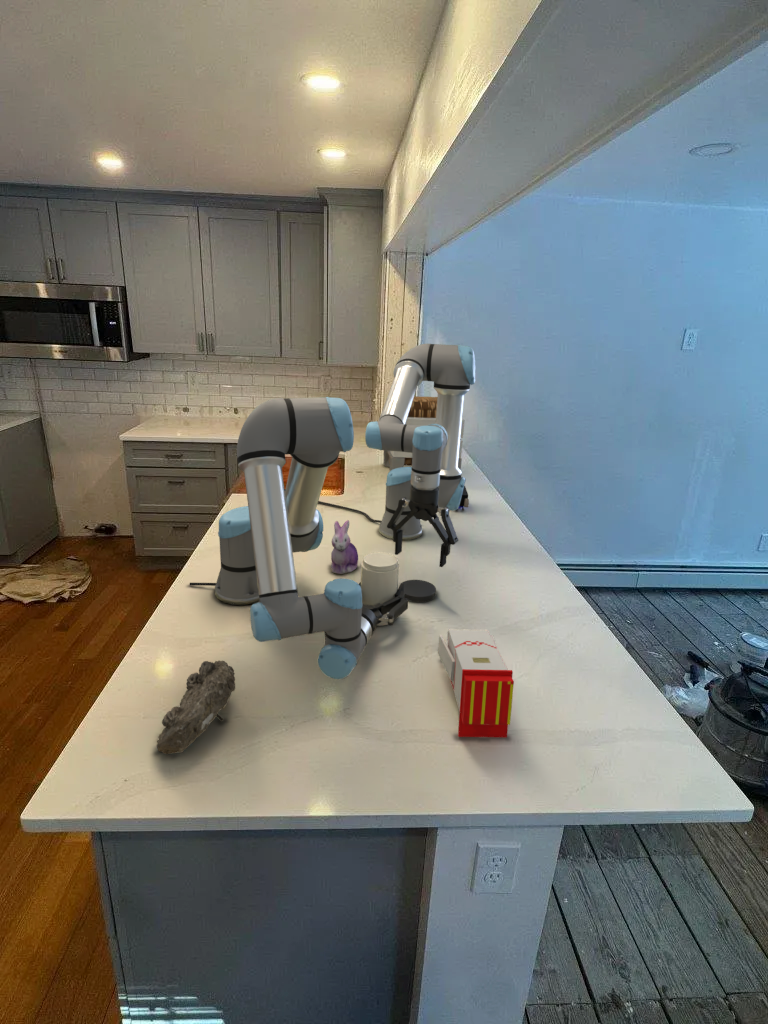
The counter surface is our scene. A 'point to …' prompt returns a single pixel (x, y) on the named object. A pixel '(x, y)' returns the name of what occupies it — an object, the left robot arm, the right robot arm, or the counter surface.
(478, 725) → the toy
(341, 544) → the figurine
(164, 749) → the fossil
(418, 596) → the lid
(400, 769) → the counter surface
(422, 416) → the white wooden crate
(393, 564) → the jar
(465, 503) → the figurine character
